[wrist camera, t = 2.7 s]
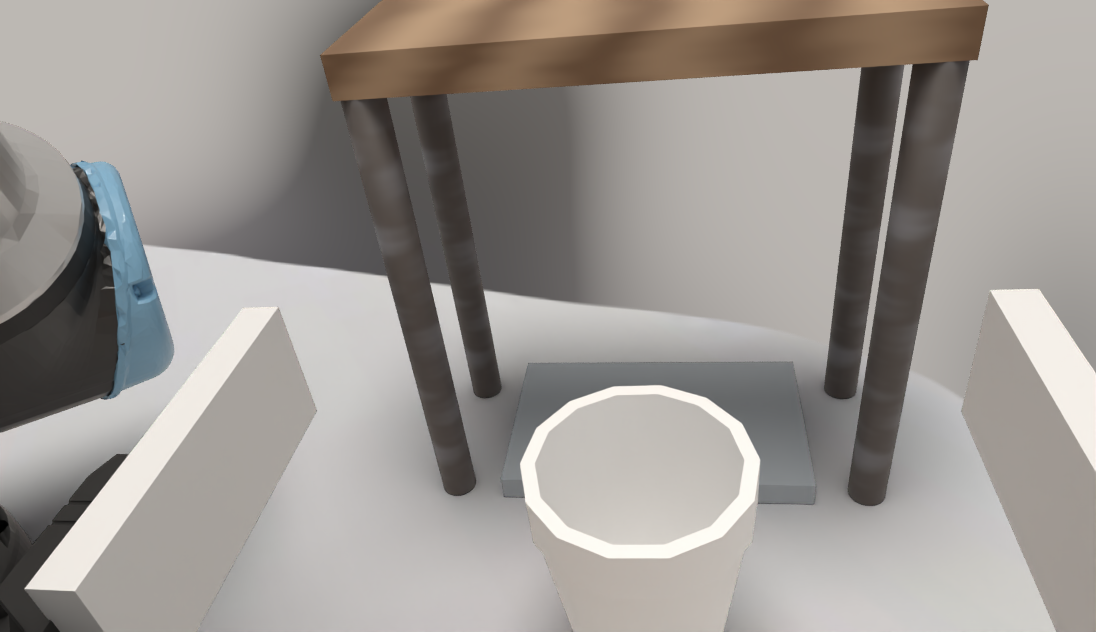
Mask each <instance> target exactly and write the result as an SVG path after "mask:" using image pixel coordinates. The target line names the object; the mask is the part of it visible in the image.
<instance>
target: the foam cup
mask: <svg viewBox="0 0 1096 632" xmlns="http://www.w3.org/2000/svg"><path fill="white" fill-rule="evenodd" d="M520 468H521V474H522V481H523V487H524V494H525V501H526V506H527V512H528V517H529V522H530V528H531V533H532V539H533V543H534V544H535V545H536V546H537V548H538V549H539V550H540V551H541V552H542V553H543V555H544V558H545V560H546V563H547V566H548V568H549V571H550V573H551V576H552V578H553V581H554V584H555V586H556V589H557V591H558V594H559V596H560V599H561V601H562V604H563V607H564V609H565V612H566V614H567V617H568V619H569V622H570V625H571V627H572V630H573V632H724V628H725V624H726V620H727V616H728V613H729V609H730V605H731V601H732V597H733V593H734V590H735V586H736V582H737V578H738V574H739V570H740V566H741V563H742V559H743V555H744V551H745V550H746V549H747V548H748V546H749V545H750V544H751V543H752V540H753V533H754V526H755V518H756V511H757V504H758V491H759V475H760V458H759V456H758V454H757V452H756V450H755V448H754V446H753V444H752V442H751V440H750V438H749V436H748V434H747V432H746V430H745V428H744V426H743V424H742V423H741V422H739V421H738V420H736V419H735V418H734V417H732V416H731V415H729V414H728V413H727V412H725V411H724V410H723V409H721V408H720V407H718V406H717V405H716V404H714V403H713V402H712V401H710V400H709V399H707V398H705V397H702V396H698V395H695V394H691V393H687V392H684V391H680V390H677V389H673V388H669V387H666V386H662V385H649V386H614V387H610V388H607V389H605V390H602V391H599V392H596V393H593V394H590V395H587V396H584V397H581V398H578V399H575V400H572V401H569V402H568V403H567V404H566V405H564V406H563V407H562V408H561V409H559V410H558V411H557V412H556V413H554V414H553V415H552V416H551V417H549V418H548V419H547V420H546V421H545V422H543V423H542V424H541V425H540V426H538V427H537V428H536V430H535V432H534V434H533V436H532V439H531V441H530V443H529V445H528V447H527V449H526V452H525V454H524V456H523V458H522V460H521V462H520Z"/></svg>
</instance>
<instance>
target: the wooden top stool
mask: <svg viewBox="0 0 1096 632" xmlns="http://www.w3.org/2000/svg"><path fill="white" fill-rule="evenodd" d="M988 6H989V5H988V4H987V3H985V2H984V1H983V0H382V1H381V2H380V3H378V4H377V5H376V6H375V7H374V8H373V9H372V10H371V11H369V12H368V13H367V14H366V15H365V16H364V17H363V18H362V19H360V20H359V21H358V22H357V23H356V24H355V25H354V26H353V27H351V28H350V29H349V30H348V31H347V32H346V33H345V34H344V35H342V36H341V37H340V38H339V39H338V40H337V41H336V42H334V43H333V44H332V45H331V46H330V47H329V48H328V49H327V50H325V51H324V52H323V53H322V54H321V55H320V56H321V60H322V63H323V67H324V71H325V74H326V78H327V82H328V86H329V89H330V93H331V97H332V100H333V101H341V104H342V108H343V111H344V116H345V119H346V123H347V127H348V130H349V134H350V138H351V141H352V145H353V149H354V153H355V156H356V160H357V164H358V168H359V171H360V175H361V179H362V182H363V186H364V190H365V194H366V198H367V201H368V205H369V209H370V212H371V216H372V220H373V224H374V227H375V231H376V234H377V239H378V242H379V246H380V249H381V254H382V257H383V261H384V265H385V268H386V272H387V276H388V280H389V283H390V287H391V291H392V295H393V298H394V302H395V306H396V309H397V313H398V317H399V321H400V324H401V328H402V332H403V336H404V339H405V343H406V347H407V351H408V354H409V358H410V362H411V365H412V369H413V373H414V377H415V380H416V384H417V388H418V392H419V395H420V399H421V403H422V406H423V410H424V414H425V418H426V421H427V425H428V429H429V433H430V436H431V440H432V444H433V447H434V451H435V455H436V459H437V462H438V466H439V470H440V474H441V477H442V481H443V485H444V488H445V490H446V492H447V493H449V494H451V495H463V494H466V493H468V492H469V491H471V490H472V489H473V488H474V486H475V484H476V478H475V474H474V470H473V465H472V461H471V457H470V453H469V448H468V444H467V440H466V435H465V431H464V427H463V423H462V418H461V414H460V410H459V405H458V401H457V397H456V393H455V388H454V384H453V380H452V375H451V371H450V367H449V363H448V358H447V354H446V350H445V345H444V341H443V337H442V333H441V328H440V324H439V320H438V315H437V311H436V307H435V303H434V298H433V294H432V290H431V285H430V281H429V277H428V273H427V268H426V264H425V260H424V256H423V251H422V247H421V243H420V238H419V234H418V230H417V226H416V221H415V217H414V213H413V208H412V204H411V200H410V196H409V191H408V187H407V183H406V179H405V174H404V170H403V166H402V161H401V157H400V152H399V149H398V144H397V140H396V135H395V131H394V127H393V123H392V119H391V114H390V110H389V106H388V102H387V98H390V97H406V96H410V98H411V103H412V107H413V112H414V116H415V121H416V126H417V130H418V135H419V139H420V144H421V149H422V153H423V158H424V162H425V168H426V172H427V176H428V181H429V186H430V191H431V195H432V200H433V205H434V209H435V214H436V219H437V223H438V228H439V232H440V237H441V241H442V246H443V251H444V255H445V260H446V265H447V269H448V274H449V279H450V284H451V288H452V293H453V297H454V302H455V307H456V311H457V316H458V321H459V325H460V330H461V335H462V339H463V344H464V348H465V353H466V358H467V362H468V367H469V372H470V376H471V381H472V386H473V390H474V393H475V395H477V396H478V397H482V398H488V397H492V396H494V395H496V394H498V393H499V392H500V390H501V381H500V376H499V371H498V365H497V360H496V355H495V349H494V344H493V339H492V334H491V328H490V323H489V318H488V312H487V307H486V302H485V296H484V291H483V286H482V280H481V275H480V270H479V265H478V260H477V254H476V249H475V243H474V238H473V233H472V227H471V222H470V217H469V212H468V206H467V201H466V197H465V190H464V185H463V180H462V174H461V170H460V164H459V159H458V153H457V148H456V143H455V138H454V132H453V127H452V121H451V116H450V111H449V105H448V100H447V95H446V94H454V93H467V92H468V93H469V92H484V91H501V90H515V89H531V88H547V87H563V86H579V85H593V84H609V83H625V82H641V81H655V80H672V79H687V78H703V77H717V76H718V77H719V76H734V75H750V74H766V73H781V72H796V71H813V70H828V69H844V68H858V67H861V76H860V85H859V93H858V102H857V111H856V119H855V127H854V136H853V144H852V153H851V162H850V171H849V179H848V188H847V197H846V206H845V214H844V222H843V230H842V239H841V248H840V256H839V265H838V274H837V282H836V290H835V299H834V309H833V316H832V325H831V333H830V342H829V351H828V359H827V368H826V376H825V385H824V389H825V391H826V393H827V394H829V395H830V396H832V397H835V398H839V399H847V398H850V397H852V396H854V395H855V393H856V390H857V383H858V376H859V369H860V362H861V356H862V349H863V342H864V335H865V328H866V321H867V314H868V308H869V300H870V294H871V287H872V281H873V274H874V267H875V260H876V254H877V247H878V240H879V232H880V226H881V219H882V213H883V206H884V199H885V192H886V185H887V179H888V172H889V165H890V159H891V152H892V145H893V137H894V131H895V124H896V118H897V111H898V104H899V97H900V91H901V84H902V77H903V70H904V65H906V64H913V66H912V73H911V79H910V86H909V92H908V99H907V105H906V113H905V119H904V125H903V131H902V138H901V145H900V151H899V158H898V164H897V170H896V178H895V183H894V190H893V197H892V203H891V210H890V217H889V223H888V230H887V236H886V242H885V249H884V256H883V262H882V269H881V275H880V281H879V288H878V295H877V301H876V307H875V314H874V321H873V327H872V334H871V340H870V347H869V354H868V360H867V366H866V373H865V379H864V386H863V392H862V399H861V405H860V412H859V418H858V425H857V431H856V438H855V444H854V451H853V458H852V464H851V471H850V477H849V484H848V493H849V495H850V497H851V498H852V499H853V500H854V501H856V502H858V503H860V504H863V505H867V506H873V505H877V504H880V503H881V502H882V501H883V500H884V498H885V494H886V489H887V484H888V479H889V474H890V468H891V463H892V458H893V453H894V448H895V443H896V438H897V432H898V427H899V422H900V417H901V412H902V407H903V401H904V396H905V391H906V386H907V381H908V376H909V370H910V365H911V360H912V355H913V350H914V344H915V339H916V334H917V328H918V324H919V319H920V314H921V309H922V303H923V298H924V293H925V288H926V283H927V277H928V272H929V267H930V262H931V257H932V251H933V246H934V242H935V236H936V231H937V226H938V221H939V216H940V211H941V205H942V200H943V195H944V190H945V185H946V180H947V174H948V169H949V164H950V158H951V154H952V149H953V143H954V138H955V133H956V128H957V123H958V117H959V113H960V107H961V102H962V97H963V92H964V86H965V81H966V76H967V71H968V66H969V61H970V60H978V55H979V51H980V46H981V41H982V36H983V31H984V26H985V21H986V15H987V11H988Z"/></svg>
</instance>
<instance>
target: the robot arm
mask: <svg viewBox="0 0 1096 632" xmlns="http://www.w3.org/2000/svg"><path fill="white" fill-rule="evenodd" d="M173 355H174V344H173V340H172V337H171V333H170V330H169V327H168V324H167V321H166V318H165V314H164V311H163V308H162V305H161V302H160V299H159V296H158V293H157V290H156V287H155V284H154V281H153V277H152V273H151V270H150V267H149V264H148V261H147V257H146V254H145V251H144V248H143V245H142V241H141V239H140V235H139V232H138V229H137V226H136V223H135V220H134V217H133V214H132V211H131V207H130V204H129V201H128V198H127V195H126V192H125V189H124V186H123V183H122V180H121V177H120V174H119V173H118V171H117V170H116V168H115V167H114V166H112V165H111V164H109V163H106V162H94V163H87V162H84V161H81V162H78V163H72V164H71V165H69V163H68V162H67V161H66V159H65V158H64V157H63V156H62V155H61V153H60V152H59V151H58V150H57V149H56V148H54V147H53V146H52V145H51V144H50V143H48V142H47V141H46V140H44V139H42V138H41V137H39V136H37V135H36V134H34V133H32V132H30V131H28V130H26V129H23V128H21V127H19V126H15V125H12V124H9V123H6V122H3V121H0V433H2V432H4V431H7V430H10V429H13V428H16V427H19V426H22V425H25V424H27V423H30V422H33V421H36V420H39V419H42V418H45V417H47V416H50V415H53V414H56V413H59V412H62V411H65V410H68V409H70V408H73V407H76V406H79V405H82V404H85V403H88V402H91V401H93V400H96V399H99V398H101V399H104V400H106V399H111V398H114V397H116V396H117V395H119V393H120V392H121V391H122V390H125V389H127V388H129V387H132V386H134V385H137V384H139V383H142V382H144V381H147V380H149V379H151V378H154V377H156V376H158V375H160V374H161V373H162V372H164V371H165V370H166V369H167V368H168V366H169V365H170V363H171V361H172V359H173ZM316 412H317V409H316V407H315V404H314V401H313V399H312V396H311V393H310V391H309V388H308V385H307V383H306V380H305V377H304V374H303V372H302V369H301V366H300V364H299V361H298V358H297V356H296V353H295V350H294V348H293V345H292V342H291V339H290V337H289V334H288V331H287V329H286V326H285V323H284V321H283V318H282V315H281V313H280V310H279V307H255V308H243V309H242V310H241V311H240V312H239V314H238V315H237V316H236V318H235V319H234V320H233V321H232V323H231V324H230V325H229V327H228V328H227V329H226V330H225V332H224V333H223V334H222V336H221V337H220V338H219V339H218V341H217V342H216V343H215V345H214V346H213V347H212V348H211V350H210V351H209V352H208V354H207V355H206V356H205V357H204V359H203V360H202V361H201V363H200V364H199V365H198V366H197V368H196V369H195V370H194V372H193V373H192V374H191V375H190V377H189V378H188V379H187V381H186V382H185V383H184V384H183V386H182V387H181V388H180V390H179V391H178V392H177V393H176V395H175V396H174V397H173V399H172V400H171V401H170V402H169V404H168V405H167V406H166V408H165V409H164V410H163V411H162V413H161V414H160V415H159V417H158V418H157V419H156V420H155V422H154V423H153V424H152V425H151V427H150V428H149V429H148V431H147V432H146V433H145V434H144V436H143V437H142V438H141V440H140V441H139V442H138V443H137V445H136V446H135V447H134V449H133V450H132V451H131V452H130V454H116V455H115V456H114V457H112V458H111V459H110V460H109V461H107V462H106V463H105V464H103V465H102V466H101V467H99V468H98V469H97V470H96V471H94V472H93V473H92V474H90V475H89V476H88V477H87V478H86V480H85V481H84V482H83V483H82V485H81V486H80V487H79V488H78V490H77V491H76V492H75V493H74V494H73V496H72V497H71V498H70V499H69V504H68V505H65V506H64V507H63V508H62V509H61V510H60V512H59V513H58V514H57V515H56V517H55V518H54V519H53V520H52V521H53V524H52V525H51V526H50V525H48V526H47V528H46V529H45V530H44V531H43V533H42V534H41V535H40V536H39V538H38V539H37V540H36V541H35V542H34V544H33V545H32V544H31V541H30V539H29V538H28V536H27V534H26V533H25V532H24V530H23V529H22V528H21V526H20V525H19V524H18V522H17V521H16V520H15V518H14V517H13V516H12V515H11V513H10V512H9V511H8V510H6V509H5V508H4V507H3V506H2V505H0V632H197V630H198V628H199V626H200V625H201V623H202V621H203V619H204V617H205V615H206V614H207V612H208V610H209V608H210V606H211V604H212V603H213V601H214V599H215V597H216V595H217V593H218V592H219V590H220V588H221V586H222V584H223V582H224V581H225V579H226V577H227V575H228V573H229V571H230V570H231V568H232V566H233V564H234V562H235V560H236V559H237V557H238V555H239V553H240V551H241V549H242V548H243V546H244V544H245V542H246V540H247V538H248V537H249V535H250V533H251V531H252V529H253V527H254V526H255V524H256V522H257V520H258V518H259V516H260V515H261V513H262V511H263V509H264V507H265V505H266V504H267V502H268V500H269V498H270V496H271V494H272V493H273V491H274V489H275V487H276V485H277V483H278V481H279V480H280V478H281V476H282V474H283V472H284V470H285V469H286V467H287V465H288V463H289V461H290V459H291V458H292V456H293V454H294V452H295V450H296V448H297V447H298V445H299V443H300V441H301V439H302V437H303V436H304V434H305V432H306V430H307V428H308V426H309V425H310V423H311V421H312V419H313V417H314V415H315V414H316ZM961 412H962V414H963V417H964V419H965V421H966V423H967V426H968V428H969V430H970V433H971V435H972V437H973V440H974V442H975V444H976V447H977V449H978V451H979V454H980V456H981V458H982V461H983V463H984V465H985V467H986V470H987V472H988V474H989V477H990V479H991V481H992V484H993V486H994V488H995V491H996V493H997V495H998V498H999V500H1000V502H1001V504H1002V507H1003V509H1004V511H1005V514H1006V516H1007V518H1008V521H1009V523H1010V525H1011V528H1012V530H1013V532H1014V535H1015V537H1016V539H1017V542H1018V544H1019V546H1020V548H1021V551H1022V553H1023V555H1024V558H1025V560H1026V562H1027V565H1028V567H1029V569H1030V572H1031V574H1032V576H1033V579H1034V581H1035V583H1036V586H1037V588H1038V590H1039V592H1040V595H1041V597H1042V599H1043V602H1044V604H1045V606H1046V609H1047V611H1048V613H1049V616H1050V618H1051V620H1052V623H1053V625H1054V627H1055V630H1056V632H1096V373H1095V372H1094V370H1093V369H1092V367H1091V366H1090V364H1089V363H1088V361H1087V360H1086V358H1085V357H1084V355H1083V354H1082V352H1081V351H1080V350H1079V348H1078V346H1077V345H1076V343H1075V342H1074V340H1073V339H1072V337H1071V336H1070V334H1069V333H1068V332H1067V330H1066V329H1065V327H1064V326H1063V324H1062V323H1061V321H1060V320H1059V318H1058V317H1057V315H1056V314H1055V312H1054V311H1053V309H1052V308H1051V306H1050V305H1049V303H1048V302H1047V301H1046V299H1045V298H1044V296H1043V294H1042V293H1041V292H1040V290H1039V289H1021V290H1020V289H1018V290H990V292H989V296H988V301H987V304H986V309H985V313H984V317H983V322H982V326H981V330H980V334H979V338H978V343H977V347H976V351H975V355H974V360H973V364H972V368H971V372H970V377H969V381H968V385H967V389H966V393H965V398H964V402H963V406H962V410H961Z"/></svg>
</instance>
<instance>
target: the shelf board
mask: <svg viewBox="0 0 1096 632" xmlns="http://www.w3.org/2000/svg"><path fill="white" fill-rule="evenodd" d="M649 385H662V386H666V387H669V388H673V389H677V390H680V391H684V392H687V393H691V394H695V395H698V396H702V397H705V398H707V399H709V400H710V401H712V402H713V403H714V404H716V405H717V406H718V407H720V408H721V409H723V410H724V411H725V412H727V413H728V414H729V415H731V416H732V417H734V418H735V419H736V420H738V421H739V422H741V423H742V424H743V426H744V428H745V430H746V432H747V434H748V436H749V438H750V440H751V442H752V444H753V446H754V448H755V450H756V452H757V454H758V456H759V458H760V475H759V491H758V503H782V504H814V500H815V492H816V482H815V477H814V472H813V466H812V461H811V456H810V450H809V445H808V440H807V434H806V429H805V424H804V418H803V413H802V408H801V402H800V397H799V392H798V386H797V381H796V376H795V370H794V365H793V362H638V363H528V366H527V371H526V375H525V379H524V383H523V387H522V392H521V396H520V400H519V404H518V409H517V413H516V417H515V421H514V425H513V430H512V434H511V438H510V442H509V447H508V451H507V455H506V459H505V463H504V468H503V472H502V476H501V483H502V488H503V493H504V497H525V494H524V487H523V481H522V474H521V468H520V462H521V460H522V458H523V456H524V454H525V452H526V449H527V447H528V445H529V443H530V441H531V439H532V436H533V434H534V432H535V430H536V428H537V427H538V426H540V425H541V424H542V423H543V422H545V421H546V420H547V419H548V418H549V417H551V416H552V415H553V414H554V413H556V412H557V411H558V410H559V409H561V408H562V407H563V406H564V405H566V404H567V403H568V402H569V401H572V400H575V399H578V398H581V397H584V396H587V395H590V394H593V393H596V392H599V391H602V390H605V389H607V388H610V387H614V386H649Z"/></svg>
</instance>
